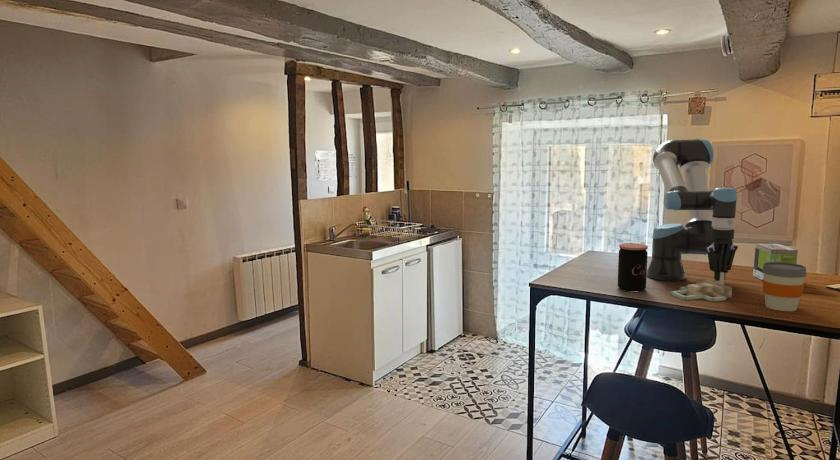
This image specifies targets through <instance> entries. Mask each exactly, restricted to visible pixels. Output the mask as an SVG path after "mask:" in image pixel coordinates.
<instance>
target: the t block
mask: <svg viewBox="0 0 840 460" xmlns="http://www.w3.org/2000/svg"><path fill="white" fill-rule="evenodd" d="M687 286H688V291H687V294H686V296H690V295H701V294H704V295H707V296H710V297H722V296H724V297H726V299H732V292H733V288H732V287H731V286H728V285H725V284H724V285H722V284H718V283H715V281H711V280H709V279H699V280H698V279H697V280H696V283H692V284H687Z"/></svg>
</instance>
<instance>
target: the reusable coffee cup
mask: <svg viewBox="0 0 840 460" xmlns="http://www.w3.org/2000/svg"><path fill="white" fill-rule="evenodd" d="M762 272H763V276H764V279H762V280H761V282H762V291H763V293H764V302H765V307H766V308H768V309H771V310H774V311H780V312H795V311H797V310H798V306H799V302H800V298H801V297H802V296H803V293H804V288H805V285H806V283H805V278H806V277H807V266H805V265H802V264H798V263H796V264H793V263H785V262H767V263H764V265H763V270H762Z"/></svg>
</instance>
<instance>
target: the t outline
mask: <svg viewBox="0 0 840 460" xmlns="http://www.w3.org/2000/svg"><path fill="white" fill-rule="evenodd" d="M678 287H679V290H672V291H669V295H670V296H673V297H675V298H678V299H680V300H683V301H689V300H697V299H698V300H699V299H703V300H707V301H710V302H712V303H713V302H721V301H726V300H727V298H726V297H724V296H722V297H715V296H707V295H704V294H701V295H690V296H689V295H687V291H688V285H685V286H678Z"/></svg>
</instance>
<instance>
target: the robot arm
mask: <svg viewBox="0 0 840 460" xmlns="http://www.w3.org/2000/svg"><path fill="white" fill-rule="evenodd" d="M713 160H714V148H713V145H712V143H711V142H710V141H709V140H708V139H705V138H704V139H700V138H696V139H669V140H667V141H664V142H663V143H661V144H660V145H659V146H658V147H657V148H656V149H655V151H654V152H653V156H652V162H653V165H654V167H655V169H656V170H658V173H659V175H660V177H661V180H662V182H663V185H664V188H665V191H666V192H665V193H664V197H663V205H664V206H663V207H664V208H665V209H666V210H671V211H687V215H688V221H687V222H686V223H685V226H684V225H683V224H682V223H665V224H659V225H657V226H655V227H654V228H653V233H652V237H651V238H652V244H651V245H652V251H651V259H650V261H649V266H648V267H647V278H649V277H650V279H652V278H653V279H652V280H658V281H669V282H679V281H684V280H685V279H686V272H685V269H684V266H683V263H682V255H704V256H706V255H707V258H708V265H709V270H710V271H712V272H714V274H713V275H714V277H713V279H714V282H715V283H718V284H722V285H725V280H726V274H728V273H729V271H731V269H732V266H733V262H734V258H735V254H736V252H737V250H738V246H739V245H735V244H734V242H733V240H734V238H735V225H736V211H737V209H736V208H737V201H738V196H737V195H738V194H737V192H738V191H737V189H736V188H735V187H716V188H715V189H714V190H709V187H708V186H709V185H708V176H707V170H708V169H709V167H710V165H711V164H712V163H713ZM681 172H683V173H684V178H683V175H682V173H681ZM711 211H712V215H711Z"/></svg>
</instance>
